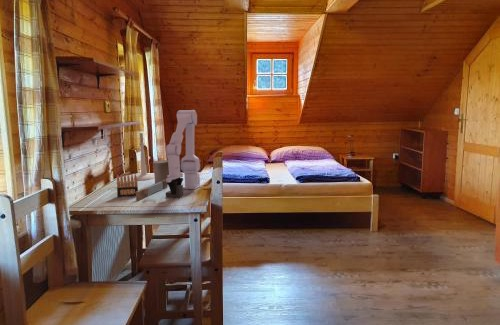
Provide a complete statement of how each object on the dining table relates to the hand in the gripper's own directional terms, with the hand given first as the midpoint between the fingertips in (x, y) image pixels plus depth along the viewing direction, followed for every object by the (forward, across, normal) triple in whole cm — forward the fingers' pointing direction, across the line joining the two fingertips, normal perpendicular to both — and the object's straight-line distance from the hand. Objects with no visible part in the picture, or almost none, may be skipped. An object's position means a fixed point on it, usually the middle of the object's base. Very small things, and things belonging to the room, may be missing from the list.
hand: (175, 193), depth 197 cm
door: (+1, -6, -16) cm, 17 cm away
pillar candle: (+2, -28, -23) cm, 36 cm away
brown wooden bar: (+2, -5, -16) cm, 17 cm away
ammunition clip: (+2, +4, -26) cm, 26 cm away
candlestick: (+2, -40, -43) cm, 59 cm away
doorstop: (+2, 0, -1) cm, 2 cm away
